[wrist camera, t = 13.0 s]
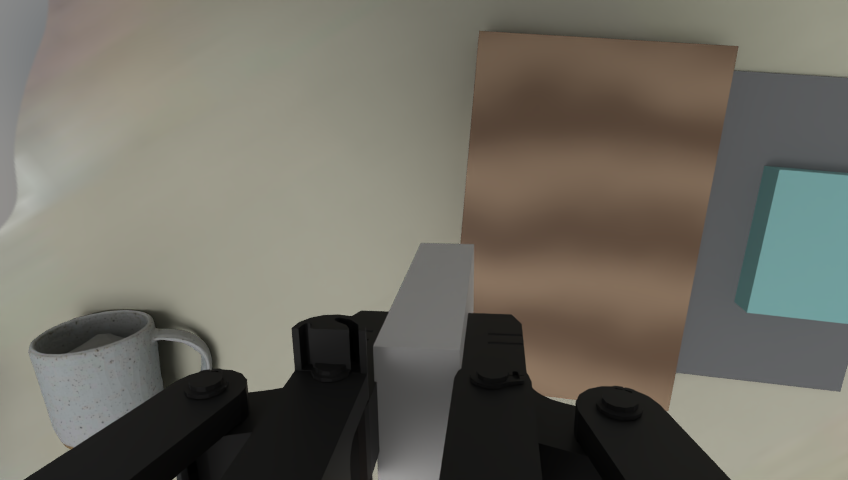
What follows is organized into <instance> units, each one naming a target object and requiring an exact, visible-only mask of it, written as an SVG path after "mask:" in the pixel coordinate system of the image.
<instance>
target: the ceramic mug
mask: <svg viewBox="0 0 848 480" xmlns="http://www.w3.org/2000/svg"><path fill="white" fill-rule="evenodd" d="M157 340H167V341H176V342H181V343H185V344H187V345H188V346H190V347H192V348H194V350H196V351H198V352H199V353H200V354H201V358H202V366H201V371H202V370H207V369H210V370H212V357H211V353H210V350H209V348H208V346H207V345H206V343H205V342H204V341H203V340H202V339H200V338H199V337H198V336H196V335H195V334H193V333H190V332H188V331H184V330H177V329H158V328H155V324H154V320H153V318H152V317H151V316H150V315H149V314H147V313H145V312H141V311H133V310H116V311H105V312H100V313H95V314H90V315H86V316H82V317H78V318H74V319H72V320H70V321H67V322H64V323H61V324H59V325H57V326H54V327H53V328H51V329H49V330H47V331H45V332H44V333H42V334H41V335H39V336H38V337H37V338H36V339H34V340H33V341H32V342H31V344H30V346H29V352H28V353H29V356H30V359H31V362H32V364H33V367H34V370H35V373H36V376H37V379H38V382H39V385H40V389H41V392H42V395H43V398H44V401H45V404H46V407H47V410H48V413H49V417H50V420H51V423H52V426H53V429H54V430H55V432H56V434H57V435H58V437H59V439H60V440H61V442H62V443H63V444H64V445H65V446H66V447H67V448H69V449H72V448H74V447H75V446H77V445H78V444H80V443H82V442H83V441H85V440H86V439H88V438H89V437H91V436H92V435H94V434H96V433H97V432H99V431H100V430H102V429H103V428H105V427H106V426H108V425H109V424H111V423H113V422H114V421H116V420H117V419H119V418H120V417H122V416H123V415H125V414H127V413H128V412H130V411H131V410H133V409H134V408H136V407H137V406H139V405H141V404H142V403H144V402H145V401H147V400H148V399H150V398H151V397H153V396H155V395H156V394H158V393H159V392H161V391H162V390H164V387H163V381H162V377H161V371H160V362H159V352H158V343H157Z"/></svg>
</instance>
